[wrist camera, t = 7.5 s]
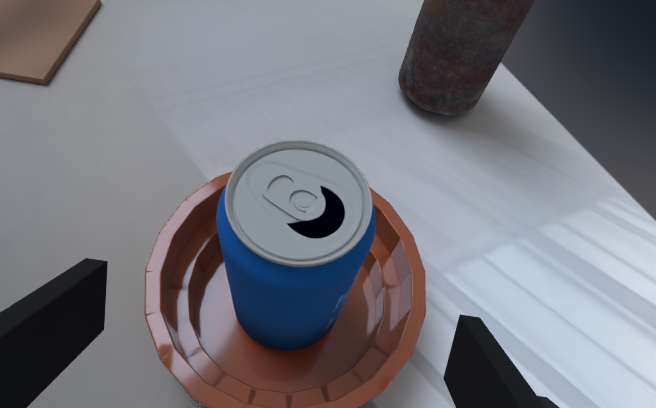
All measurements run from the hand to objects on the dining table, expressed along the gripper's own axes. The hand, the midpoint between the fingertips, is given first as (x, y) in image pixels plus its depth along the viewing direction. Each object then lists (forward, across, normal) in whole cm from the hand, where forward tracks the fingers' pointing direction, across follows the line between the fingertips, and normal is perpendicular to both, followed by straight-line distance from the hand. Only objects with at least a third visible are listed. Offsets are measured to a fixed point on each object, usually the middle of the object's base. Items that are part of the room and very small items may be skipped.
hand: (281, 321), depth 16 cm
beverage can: (+10, 0, -4) cm, 11 cm away
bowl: (+10, 0, -4) cm, 11 cm away
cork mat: (+24, -27, +10) cm, 38 cm away
